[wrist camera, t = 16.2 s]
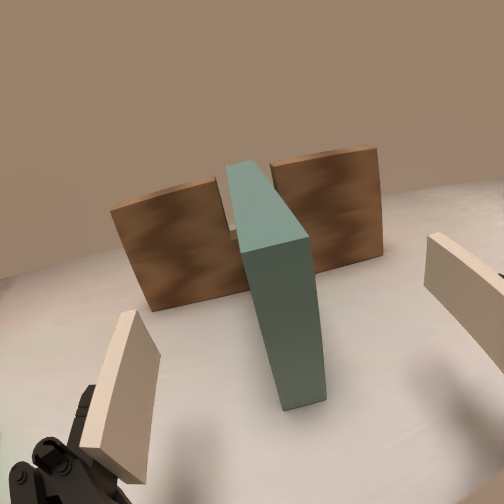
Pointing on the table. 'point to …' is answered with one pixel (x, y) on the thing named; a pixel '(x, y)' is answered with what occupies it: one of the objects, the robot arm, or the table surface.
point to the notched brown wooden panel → (226, 242)
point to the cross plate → (280, 285)
